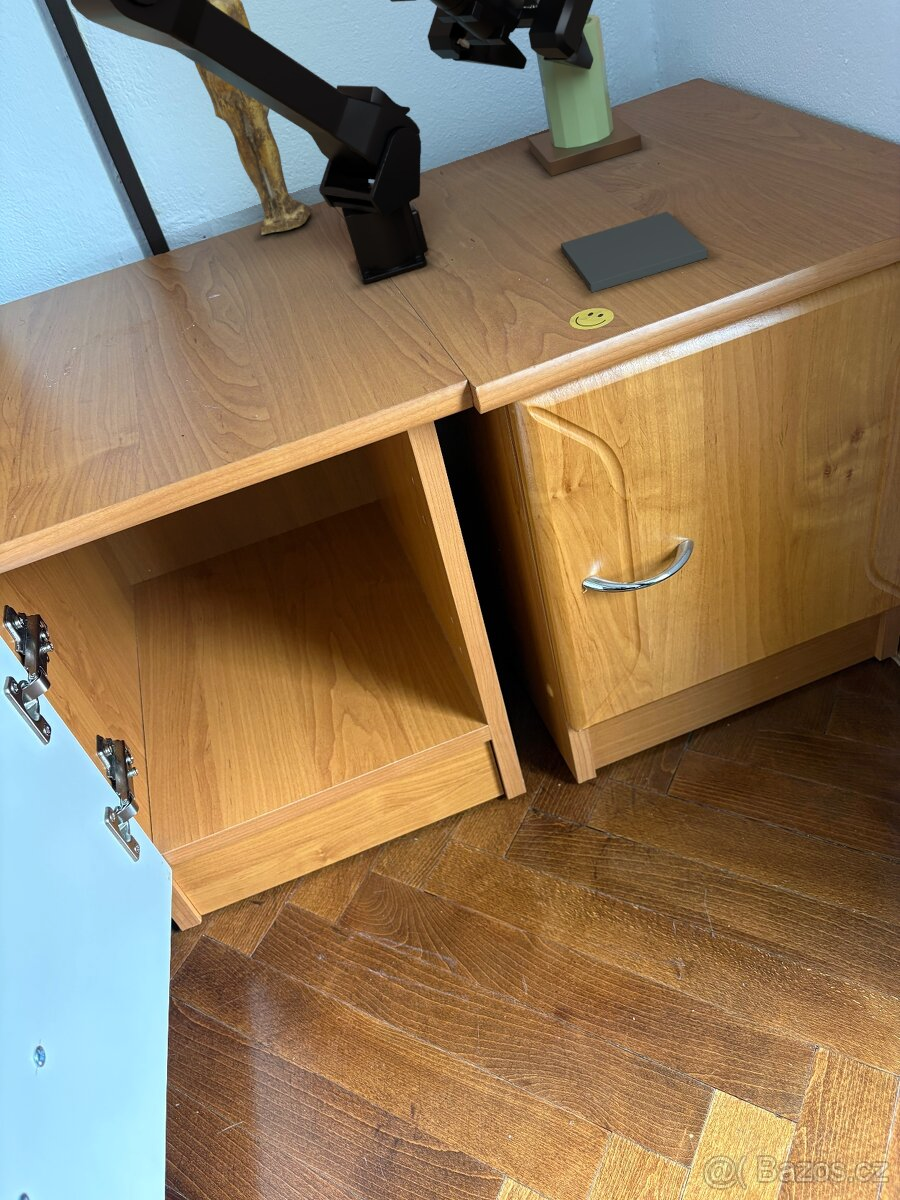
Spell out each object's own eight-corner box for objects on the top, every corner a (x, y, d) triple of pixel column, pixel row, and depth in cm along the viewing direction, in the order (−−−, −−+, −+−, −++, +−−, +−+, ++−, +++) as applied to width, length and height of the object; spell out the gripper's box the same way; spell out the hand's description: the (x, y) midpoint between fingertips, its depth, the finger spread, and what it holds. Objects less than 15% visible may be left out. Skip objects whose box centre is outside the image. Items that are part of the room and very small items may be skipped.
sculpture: (320, 211, 116) (222, -94, 97) (309, 233, 112) (204, -84, 93) (265, 223, 118) (159, -76, 99) (252, 245, 113) (138, -65, 94)
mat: (591, 292, 84) (590, 283, 83) (561, 251, 92) (560, 243, 91) (707, 257, 84) (707, 248, 83) (668, 219, 91) (667, 211, 91)
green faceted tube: (560, 153, 107) (542, 40, 101) (545, 137, 113) (527, 29, 106) (620, 135, 107) (606, 20, 100) (602, 120, 112) (588, 10, 105)
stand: (551, 176, 107) (540, 112, 103) (530, 151, 115) (519, 91, 111) (642, 148, 107) (635, 83, 103) (614, 125, 115) (607, 64, 111)
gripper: (563, -126, 85) (658, -21, 97) (419, -102, 97) (518, -12, 109) (518, 9, 87) (616, 96, 98) (382, 16, 99) (484, 93, 111)
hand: (556, 64), depth 104 cm, fingers open, 9 cm apart
